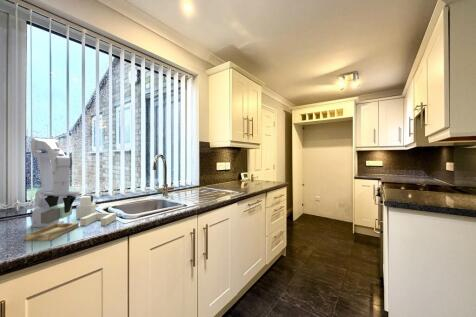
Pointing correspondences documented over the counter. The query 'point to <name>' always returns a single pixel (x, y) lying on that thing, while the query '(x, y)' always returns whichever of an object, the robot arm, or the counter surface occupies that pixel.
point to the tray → (51, 232)
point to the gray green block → (54, 214)
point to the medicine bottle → (85, 206)
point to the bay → (98, 218)
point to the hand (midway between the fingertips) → (60, 212)
